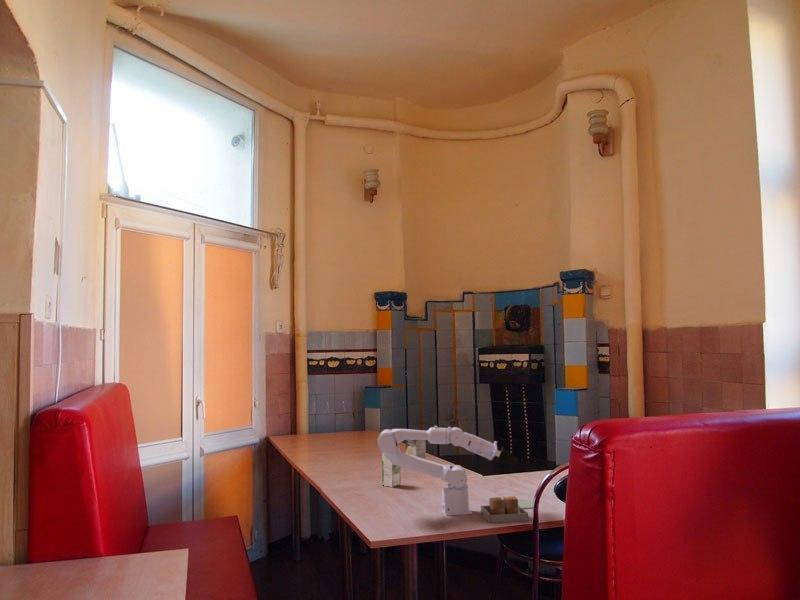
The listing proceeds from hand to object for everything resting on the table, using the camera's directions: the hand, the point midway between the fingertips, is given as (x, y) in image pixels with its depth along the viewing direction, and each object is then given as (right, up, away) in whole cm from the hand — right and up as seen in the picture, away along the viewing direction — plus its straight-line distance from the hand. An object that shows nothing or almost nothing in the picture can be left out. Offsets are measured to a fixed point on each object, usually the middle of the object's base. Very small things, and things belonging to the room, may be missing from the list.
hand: (515, 461), depth 209 cm
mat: (+3, -18, +5) cm, 19 cm away
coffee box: (-33, -24, +76) cm, 87 cm away
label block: (-3, -17, -8) cm, 19 cm away
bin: (-5, -17, -8) cm, 19 cm away
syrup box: (-45, -22, +42) cm, 65 cm away
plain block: (-8, -17, -8) cm, 20 cm away
